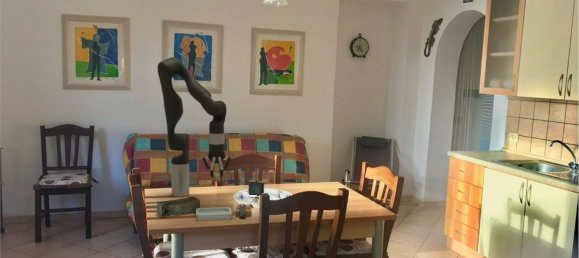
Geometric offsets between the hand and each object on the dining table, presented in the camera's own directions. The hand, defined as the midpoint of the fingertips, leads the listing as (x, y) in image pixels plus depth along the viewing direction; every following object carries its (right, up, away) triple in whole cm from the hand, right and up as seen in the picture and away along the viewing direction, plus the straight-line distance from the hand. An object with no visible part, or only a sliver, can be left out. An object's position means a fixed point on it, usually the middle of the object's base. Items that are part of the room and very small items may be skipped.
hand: (216, 177), depth 228 cm
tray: (0, -17, -11) cm, 20 cm away
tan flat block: (+13, -17, -5) cm, 22 cm away
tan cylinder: (0, -2, 0) cm, 2 cm away
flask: (+18, -14, +23) cm, 32 cm away
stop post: (+14, -18, -12) cm, 25 cm away
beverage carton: (-17, -17, -6) cm, 25 cm away
